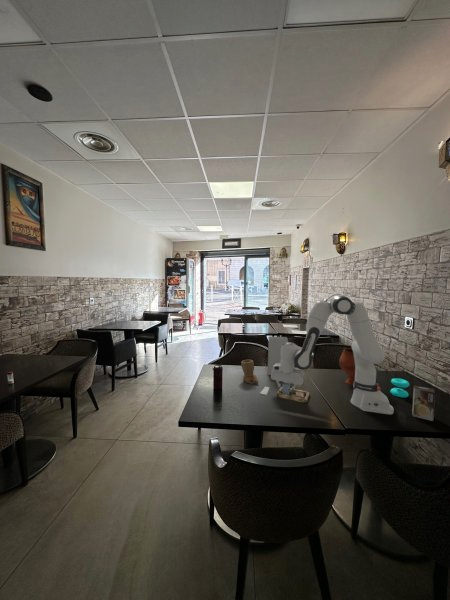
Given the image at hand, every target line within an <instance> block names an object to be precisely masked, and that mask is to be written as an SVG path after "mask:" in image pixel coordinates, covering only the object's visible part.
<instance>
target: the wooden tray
mask: <svg viewBox="0 0 450 600" xmlns="http://www.w3.org/2000/svg"><path fill="white" fill-rule="evenodd" d="M296 392H301V393H303V396H304V398H300V397H296V395H290V394H289V395H286V394H282V385H281V387H279V388H278V390H277V393H276V397H277V398H282V399H286V400H291V401H295V402H299V403H304V404H307V403H308V400H309V397H310V392H309V391H307V390H302V389H301V390H300V389H296V388H295V390H292V387H290V393H292V394H296Z"/></svg>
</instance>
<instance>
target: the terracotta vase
mask: <svg viewBox="0 0 450 600" xmlns="http://www.w3.org/2000/svg"><path fill="white" fill-rule="evenodd" d="M338 364H339V368H341V370H342V371H343V373H345V374H346V375H347V376H348V378H347V379H346V380H345V383H346V384H347V385H349V386H353V385H354V379H355V360H354V353H353V350H352V347H349V348H348V347H345V348H343V351H342V354H341V355H340V357H339V363H338Z"/></svg>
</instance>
